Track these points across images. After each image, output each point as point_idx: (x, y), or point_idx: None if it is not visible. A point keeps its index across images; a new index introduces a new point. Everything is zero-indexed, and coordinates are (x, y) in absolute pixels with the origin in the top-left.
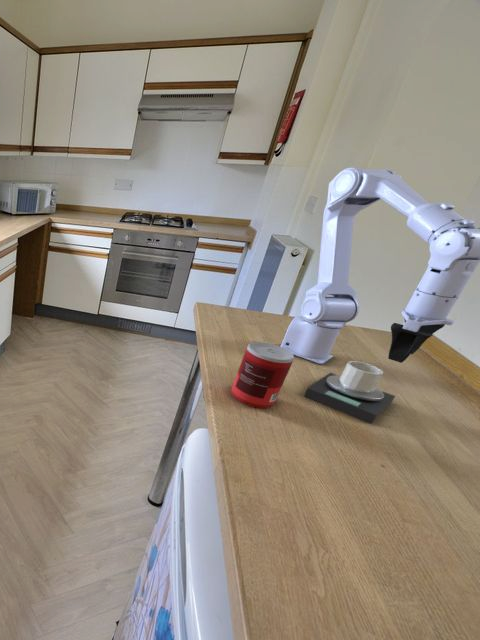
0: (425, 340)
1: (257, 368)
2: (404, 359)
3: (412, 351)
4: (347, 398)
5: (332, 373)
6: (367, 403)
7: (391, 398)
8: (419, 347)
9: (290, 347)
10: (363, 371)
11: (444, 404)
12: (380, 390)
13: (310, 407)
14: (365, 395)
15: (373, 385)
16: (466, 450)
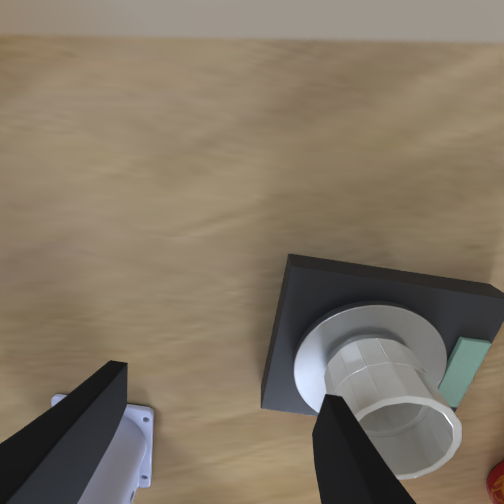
0: (47, 439)
1: None
2: (351, 413)
3: (373, 466)
4: (453, 366)
5: (261, 403)
6: (434, 322)
7: (328, 274)
8: (80, 387)
9: (134, 481)
10: (460, 443)
11: (119, 119)
12: (336, 315)
13: (490, 393)
14: (425, 344)
15: (415, 362)
16: (493, 56)
